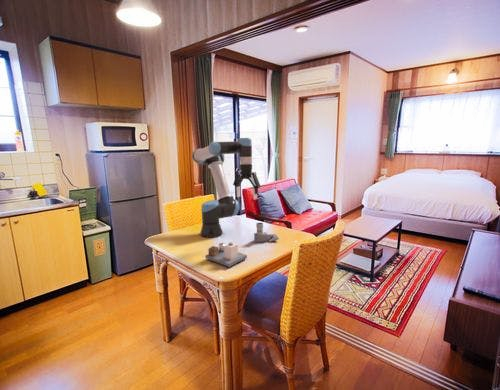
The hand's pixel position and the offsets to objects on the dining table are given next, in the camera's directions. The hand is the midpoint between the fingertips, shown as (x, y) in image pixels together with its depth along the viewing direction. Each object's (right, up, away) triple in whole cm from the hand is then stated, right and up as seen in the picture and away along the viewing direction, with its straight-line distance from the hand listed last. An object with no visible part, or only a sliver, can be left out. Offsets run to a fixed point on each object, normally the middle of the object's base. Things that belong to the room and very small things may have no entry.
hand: (246, 197), depth 172 cm
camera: (+12, -28, +7) cm, 31 cm away
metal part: (-14, -30, -15) cm, 36 cm away
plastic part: (-8, -31, -24) cm, 40 cm away
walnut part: (-18, -31, -20) cm, 41 cm away
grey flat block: (-11, -34, -21) cm, 41 cm away
